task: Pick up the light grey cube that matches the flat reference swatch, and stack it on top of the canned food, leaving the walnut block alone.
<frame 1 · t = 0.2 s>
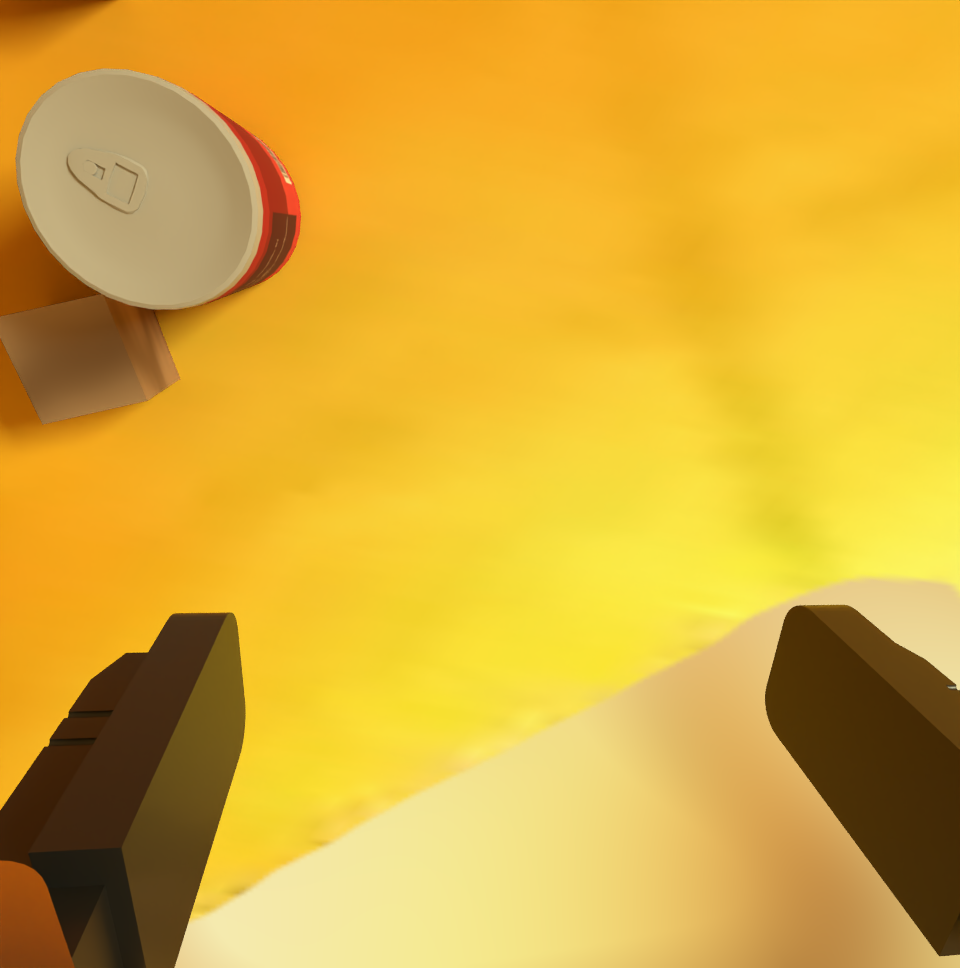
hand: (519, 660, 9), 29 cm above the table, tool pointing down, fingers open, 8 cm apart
canned food: (223, 207, 32), on the table
walnut block: (116, 343, 34), on the table
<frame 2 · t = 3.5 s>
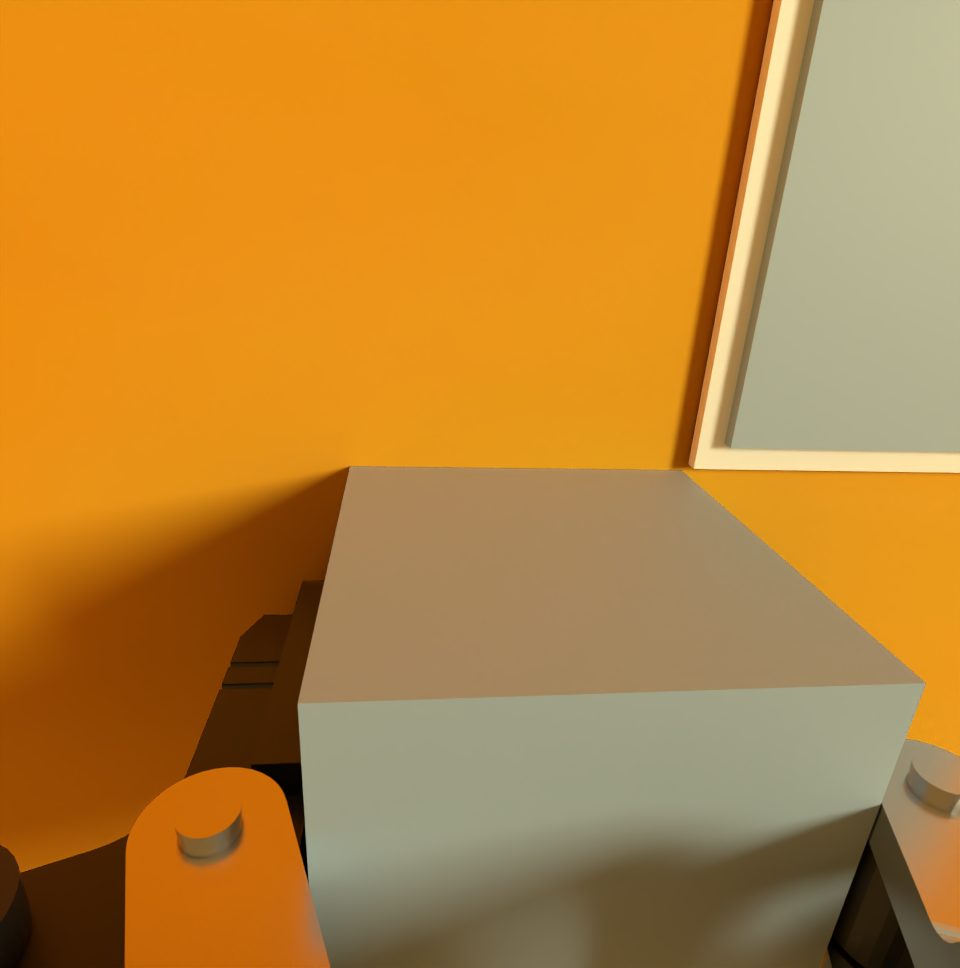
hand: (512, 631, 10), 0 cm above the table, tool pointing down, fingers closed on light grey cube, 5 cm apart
light grey cube: (509, 612, 10), on the table, touching gripper
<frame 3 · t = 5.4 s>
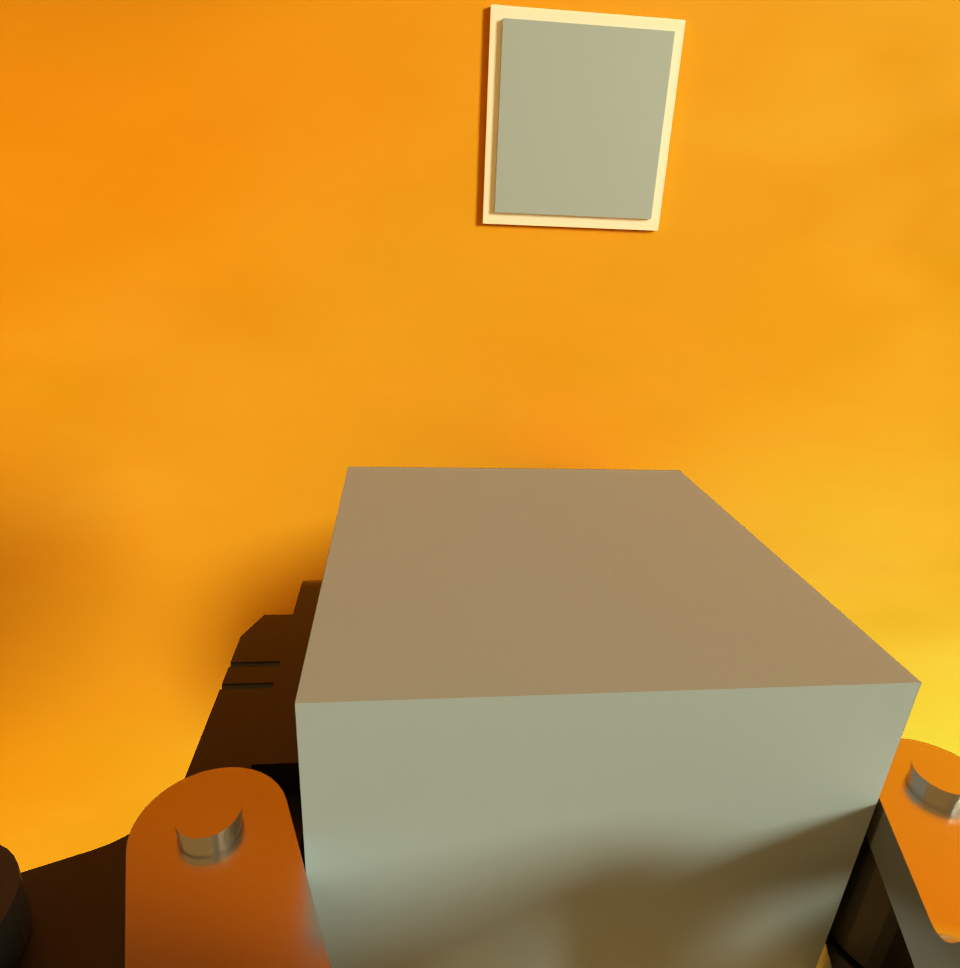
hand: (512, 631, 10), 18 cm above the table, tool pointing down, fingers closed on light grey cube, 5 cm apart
light grey cube: (507, 612, 10), point 17 cm above the table, touching gripper
reference swatch: (579, 126, 23), on the table
when the fingers open (13 cm above the table, at t = 7.2 s): light grey cube drops 1 cm, resting on canned food.
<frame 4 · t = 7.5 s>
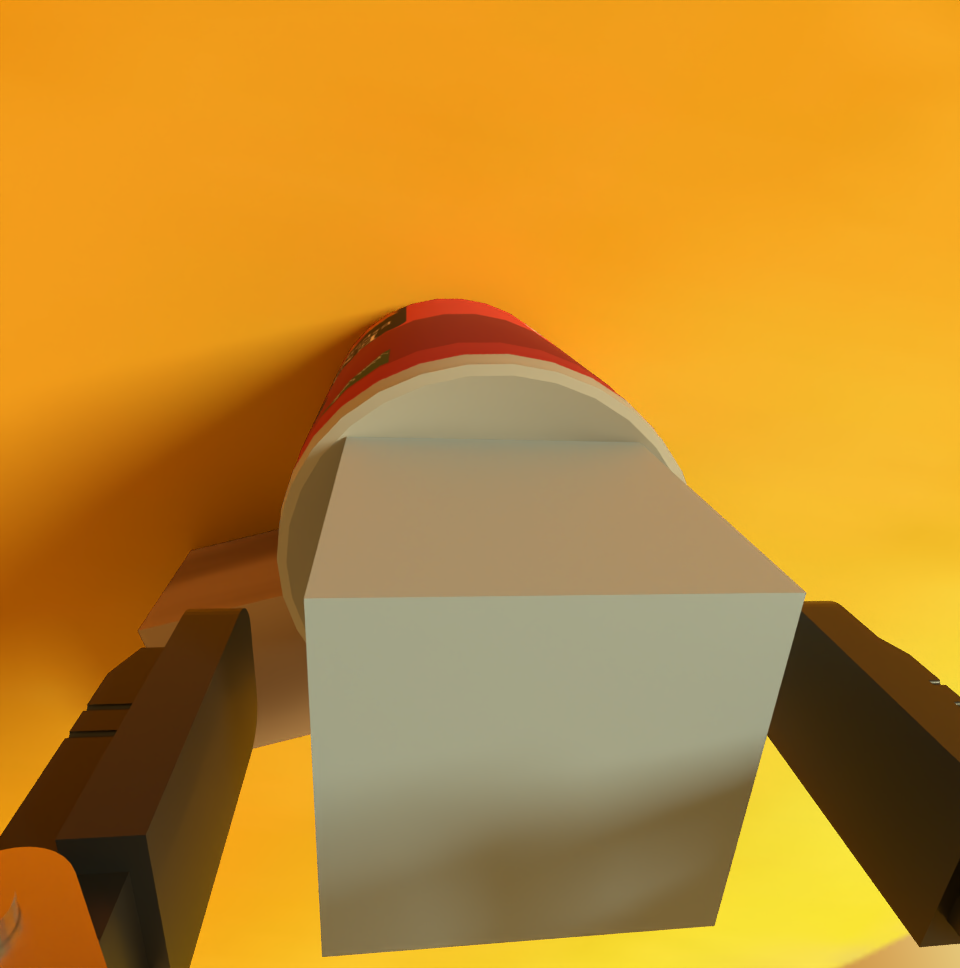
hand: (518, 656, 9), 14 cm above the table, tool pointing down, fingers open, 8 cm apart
canned food: (452, 410, 22), on the table, touching light grey cube
light grey cube: (488, 569, 12), point 11 cm above the table, touching canned food
walnut block: (283, 591, 24), on the table
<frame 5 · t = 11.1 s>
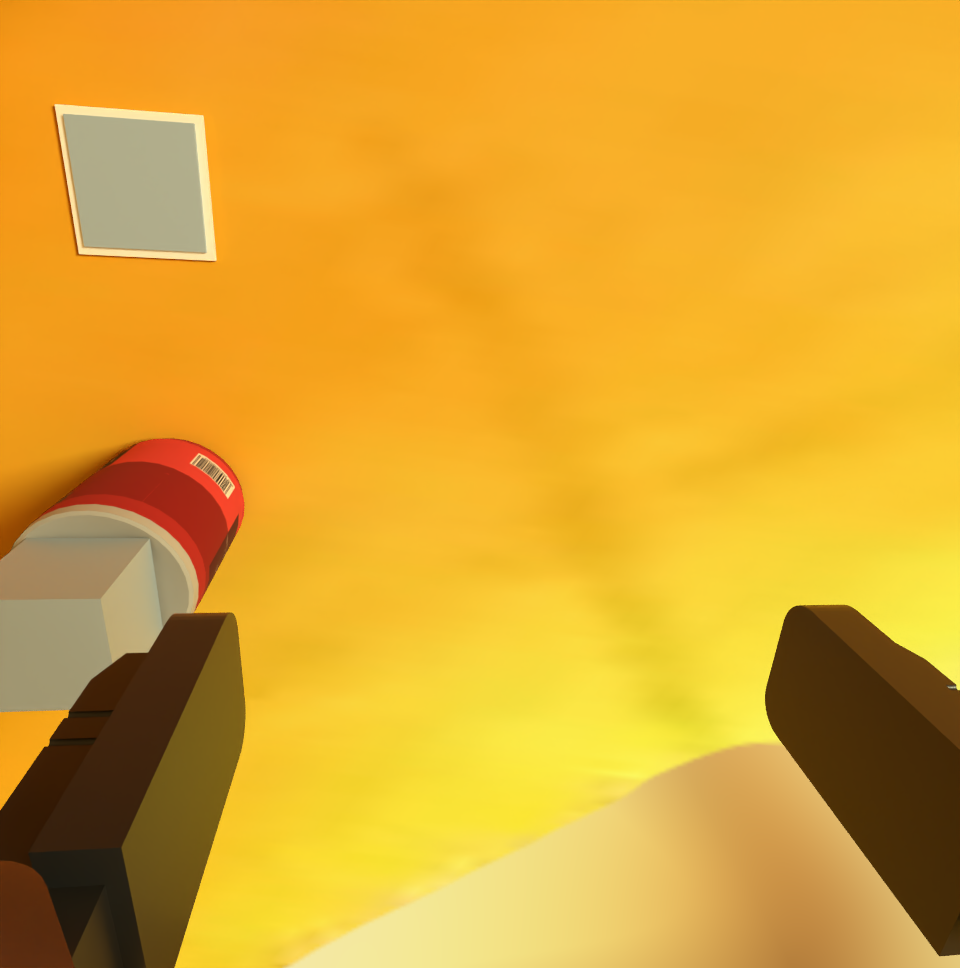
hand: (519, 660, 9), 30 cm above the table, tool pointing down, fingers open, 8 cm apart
canned food: (180, 493, 39), on the table, touching light grey cube
light grey cube: (98, 588, 29), point 11 cm above the table, touching canned food
reference swatch: (140, 186, 33), on the table
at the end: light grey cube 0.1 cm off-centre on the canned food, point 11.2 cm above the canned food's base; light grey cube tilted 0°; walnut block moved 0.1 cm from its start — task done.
